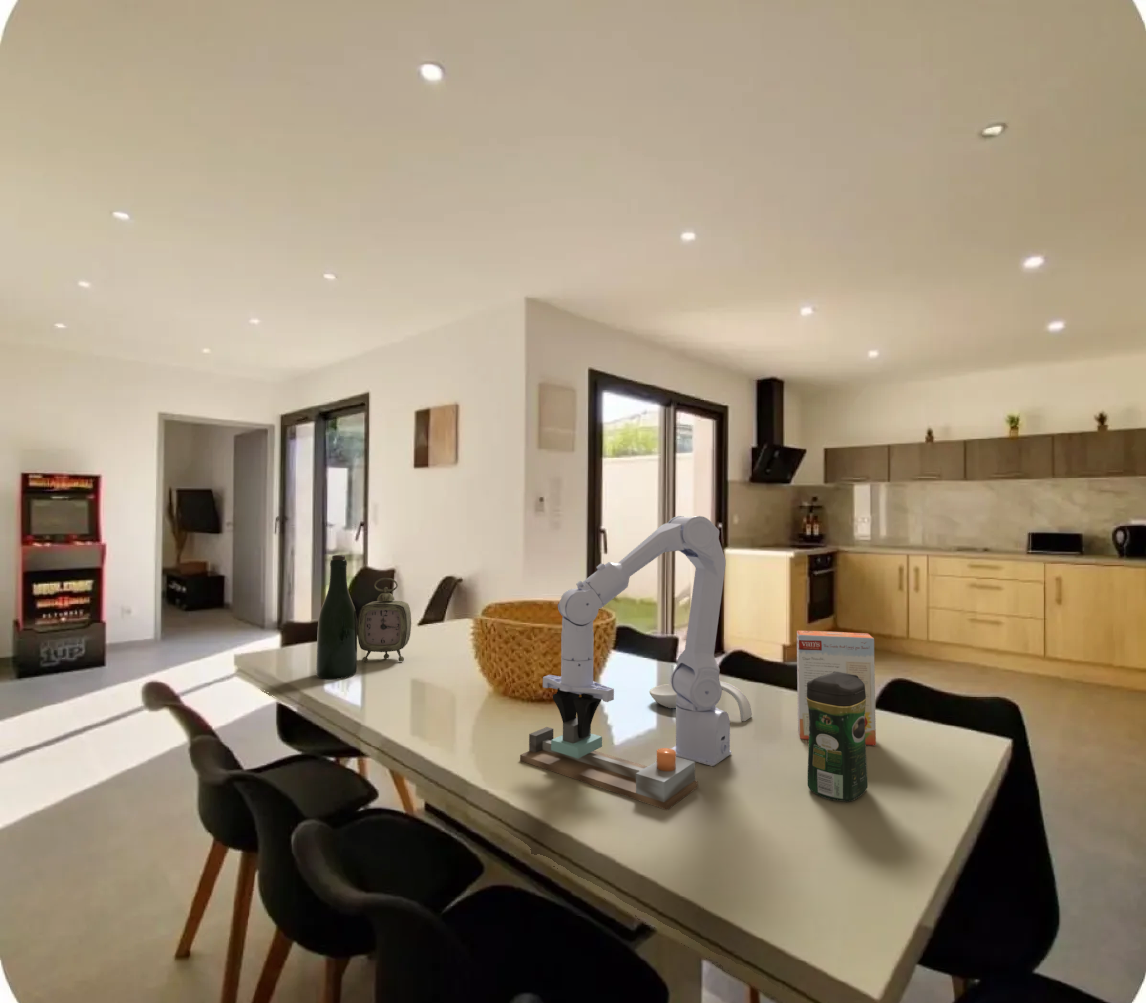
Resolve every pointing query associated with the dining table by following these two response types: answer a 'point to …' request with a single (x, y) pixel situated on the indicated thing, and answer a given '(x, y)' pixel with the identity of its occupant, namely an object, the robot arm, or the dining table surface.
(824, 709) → the coffee jar
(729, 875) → the dining table surface
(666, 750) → the button
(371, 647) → the tabletop clock
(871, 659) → the cracker box
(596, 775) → the rail board
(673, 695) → the spoon rest
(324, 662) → the green wine bottle
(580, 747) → the carriage
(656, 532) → the robot arm
